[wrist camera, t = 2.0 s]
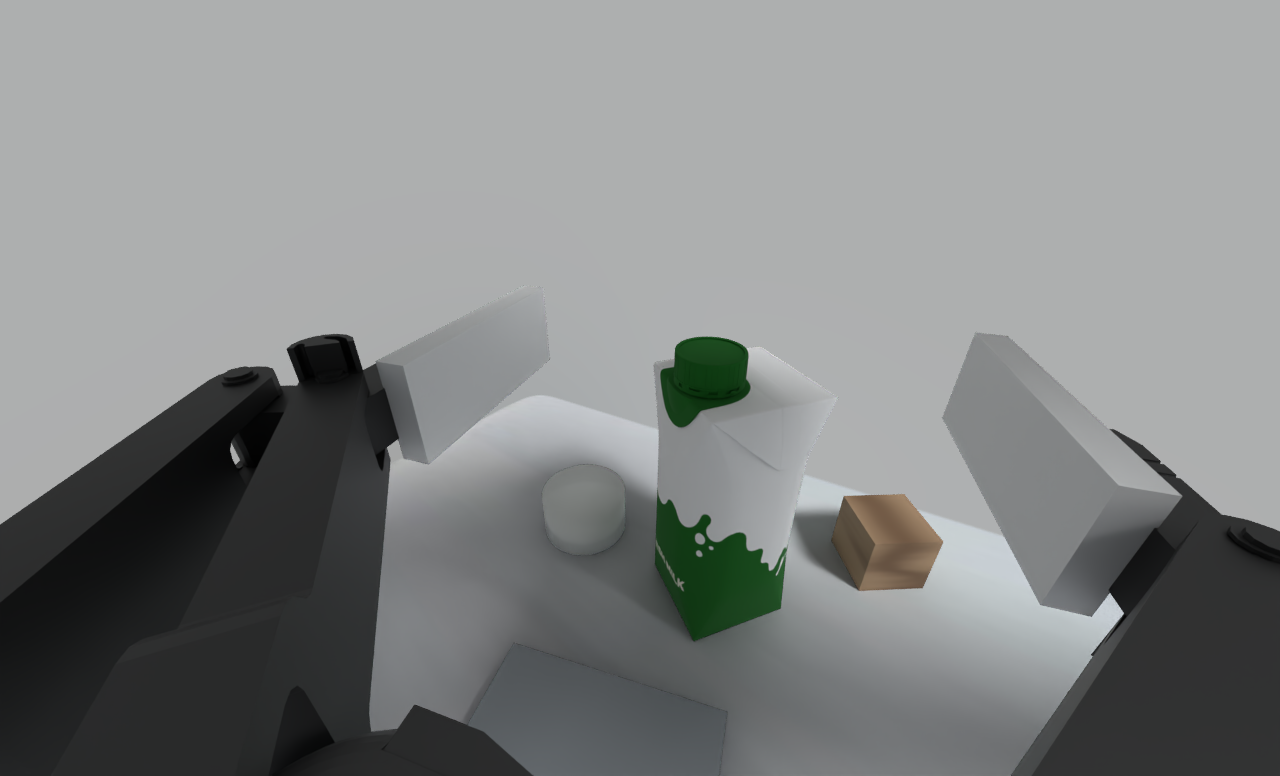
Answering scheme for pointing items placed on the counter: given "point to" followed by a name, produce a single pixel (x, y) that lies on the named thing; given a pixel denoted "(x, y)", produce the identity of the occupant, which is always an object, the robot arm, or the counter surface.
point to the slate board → (595, 722)
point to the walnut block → (885, 542)
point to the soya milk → (730, 476)
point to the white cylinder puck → (584, 509)
